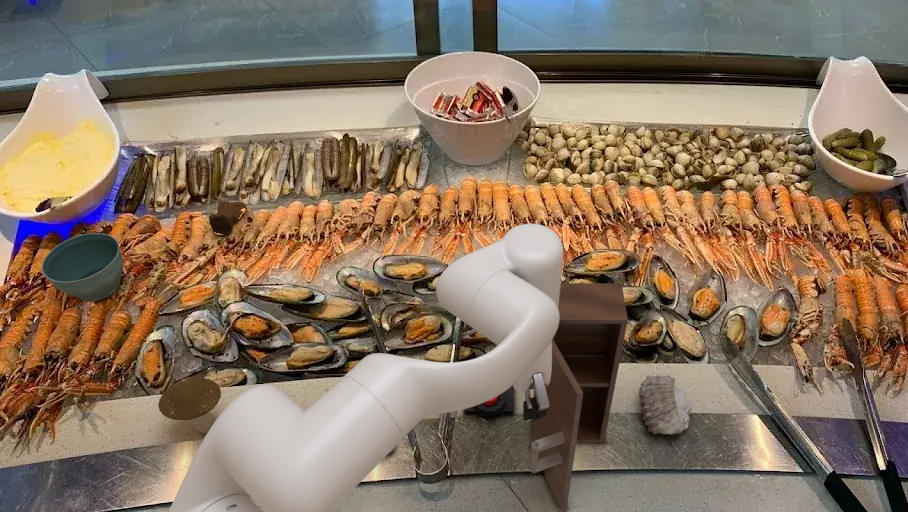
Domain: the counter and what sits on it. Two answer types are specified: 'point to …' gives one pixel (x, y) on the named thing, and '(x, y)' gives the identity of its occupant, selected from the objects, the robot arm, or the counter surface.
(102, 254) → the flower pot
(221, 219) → the sculpture
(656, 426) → the seashell
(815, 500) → the counter surface
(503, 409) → the control box
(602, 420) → the cupboard
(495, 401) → the button
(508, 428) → the counter surface
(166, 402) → the mushroom
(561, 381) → the door
